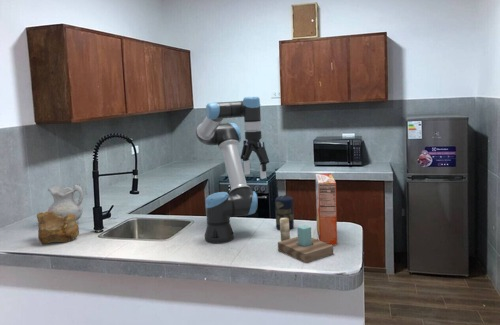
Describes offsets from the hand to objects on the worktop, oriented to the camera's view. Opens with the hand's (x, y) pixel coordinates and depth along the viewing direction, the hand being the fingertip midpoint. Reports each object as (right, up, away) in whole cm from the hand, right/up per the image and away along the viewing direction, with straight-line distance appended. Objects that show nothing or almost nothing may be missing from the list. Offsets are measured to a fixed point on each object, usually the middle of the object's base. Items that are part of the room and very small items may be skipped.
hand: (255, 176), depth 211 cm
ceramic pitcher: (-110, -31, +60) cm, 129 cm away
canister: (+17, -29, +34) cm, 47 cm away
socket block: (+23, -35, -3) cm, 42 cm away
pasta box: (+36, -31, +16) cm, 50 cm away
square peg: (+23, -35, -3) cm, 42 cm away
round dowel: (+15, -33, +10) cm, 37 cm away
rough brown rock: (-107, -36, +30) cm, 116 cm away
